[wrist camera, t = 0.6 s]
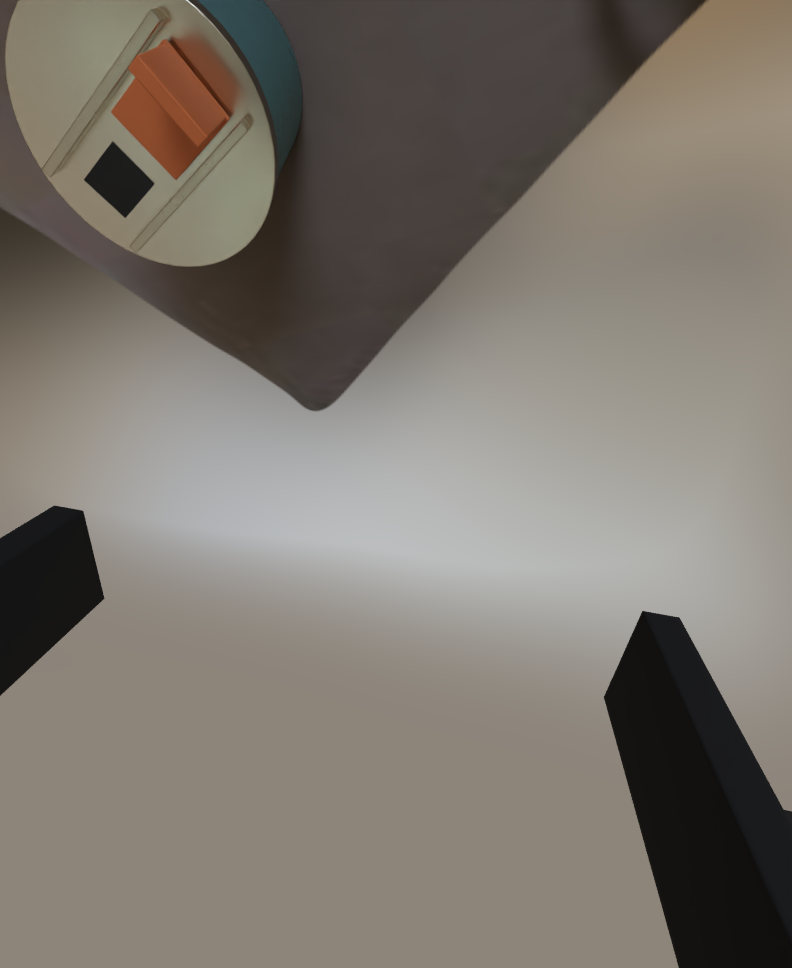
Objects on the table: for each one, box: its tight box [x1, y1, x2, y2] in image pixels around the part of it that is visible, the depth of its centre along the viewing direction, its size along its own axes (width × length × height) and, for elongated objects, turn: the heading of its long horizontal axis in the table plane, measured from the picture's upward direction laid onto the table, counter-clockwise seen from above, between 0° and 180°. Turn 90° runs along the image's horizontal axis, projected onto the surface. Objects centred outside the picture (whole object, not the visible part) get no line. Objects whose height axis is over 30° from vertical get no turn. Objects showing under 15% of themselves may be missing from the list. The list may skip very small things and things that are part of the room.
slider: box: [111, 39, 230, 180], centre depth 18 cm, size 4×3×3 cm
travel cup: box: [5, 0, 302, 267], centre depth 24 cm, size 11×11×14 cm
